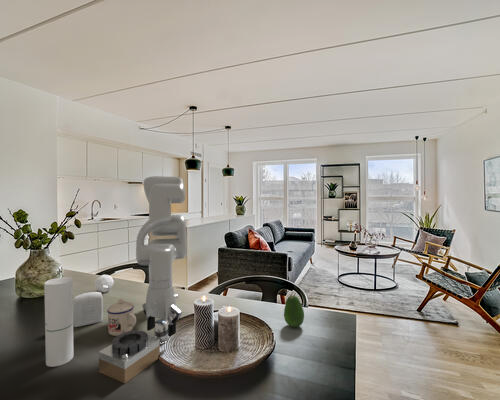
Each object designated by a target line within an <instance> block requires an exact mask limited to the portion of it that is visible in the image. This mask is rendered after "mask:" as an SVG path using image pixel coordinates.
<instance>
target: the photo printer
mask: <svg viewBox="0 0 500 400" xmlns="http://www.w3.org/2000/svg"><path fill="white" fill-rule="evenodd" d="M103 301H104V298H103V295H102V292H100V291H89V292H84V293H80V294H77V295H75V296H74V298H73V328H77V327H82V326H87V325H92V324H97V323H101V322H102V321H103V319H104V311H103V310H104V308H103V307H104V302H103Z"/></svg>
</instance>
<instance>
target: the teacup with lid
mask: <svg viewBox="0 0 500 400" xmlns="http://www.w3.org/2000/svg"><path fill="white" fill-rule="evenodd" d="M134 307H135V306H134V304H133V303H132V302H129V301H125V300H124V299H122V298H120V299H118V300H117V302H116V303H114V304H110V306H109V307H107V310H106V312H107V315H108V316H107V331H108V332H107V333H108V334H109V335H110V336H115V337H116V336H118V335H120V334H124V332H128V331H131V332H132V331H133V329H134V326H136V323H137V317H136V315H135V314H134Z"/></svg>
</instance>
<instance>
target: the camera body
mask: <svg viewBox="0 0 500 400" xmlns="http://www.w3.org/2000/svg"><path fill="white" fill-rule="evenodd" d="M160 346H161V345H160V339H157V338H155V336H150V335H148V333H147V332H146V331H144V330H140V329H139V330H138V329H137V330H131V331H128V332H124V334H120V335H118V336H115V337H114V338H113V339H112V340H111V344H110V345H108V346H107V347H104V348H102V349H101V350H99V351H98V373H101V374H103V375H104V376H106V377H109V378H112V379H114V380H116V381H118V382H121V383H123V384H126V383H128V382H129V381H130V380H131V379H133V378H135V377H136V376H137V375H139V374H140V373H141V372H143V371H144V370H146V368H148V367H150V366H151V365H152V364H154V363H155V362H156V361H157V360H158V356H159V355H160V353H161V352H160V350H161V349H160ZM160 356H161V355H160Z"/></svg>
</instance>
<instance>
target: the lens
mask: <svg viewBox="0 0 500 400" xmlns="http://www.w3.org/2000/svg"><path fill="white" fill-rule="evenodd" d="M168 325H169V322H168V320H167V319H165V320H164V319H159V318H158V319H157V320H155V328H154V338H157V339H160V342H161V343H162V342H165V341H167V340H168V341H169V336H168Z"/></svg>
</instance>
